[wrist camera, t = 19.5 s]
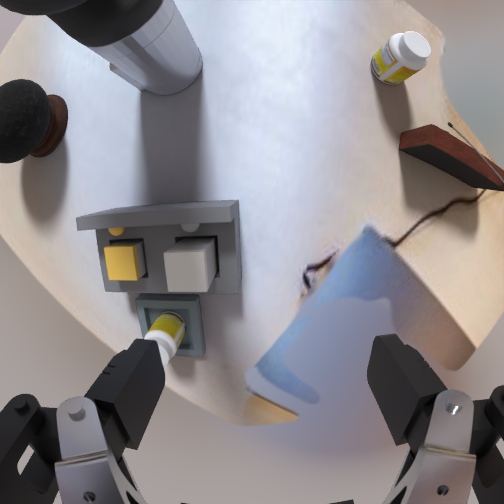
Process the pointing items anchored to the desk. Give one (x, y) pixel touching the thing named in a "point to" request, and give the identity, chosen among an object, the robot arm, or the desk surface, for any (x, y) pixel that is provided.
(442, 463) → the robot arm
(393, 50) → the supplement bottle
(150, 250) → the box
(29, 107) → the spherical smart speaker
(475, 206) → the desk surface
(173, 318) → the supplement bottle
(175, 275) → the block
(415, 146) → the radio
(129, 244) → the block
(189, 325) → the square tray
